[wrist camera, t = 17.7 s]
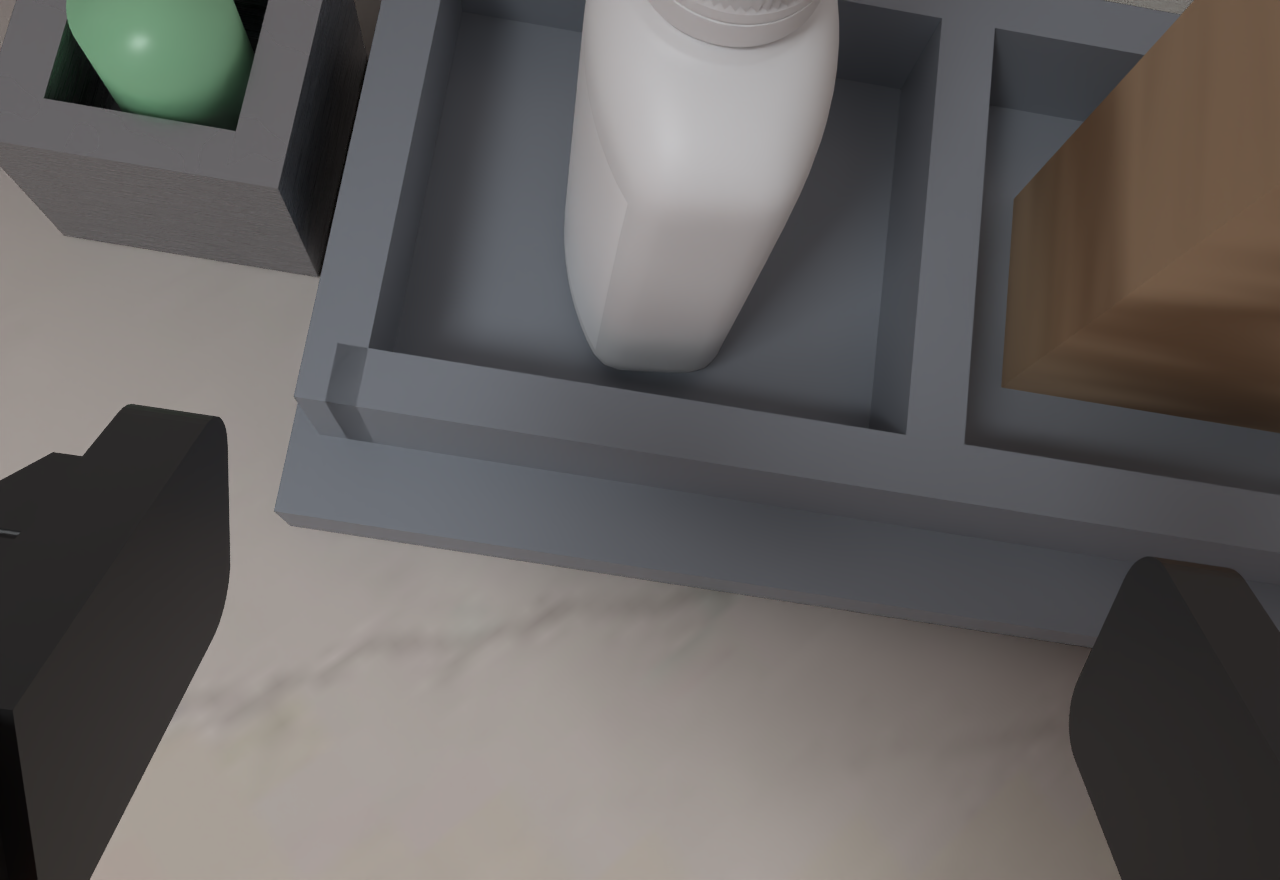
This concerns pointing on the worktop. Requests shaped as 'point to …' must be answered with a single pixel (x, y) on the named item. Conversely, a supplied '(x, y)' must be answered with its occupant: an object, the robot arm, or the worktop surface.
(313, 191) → the button box
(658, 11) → the eye dropper bottle
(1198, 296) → the walnut block
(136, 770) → the robot arm
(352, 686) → the worktop surface
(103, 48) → the button
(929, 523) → the tray
